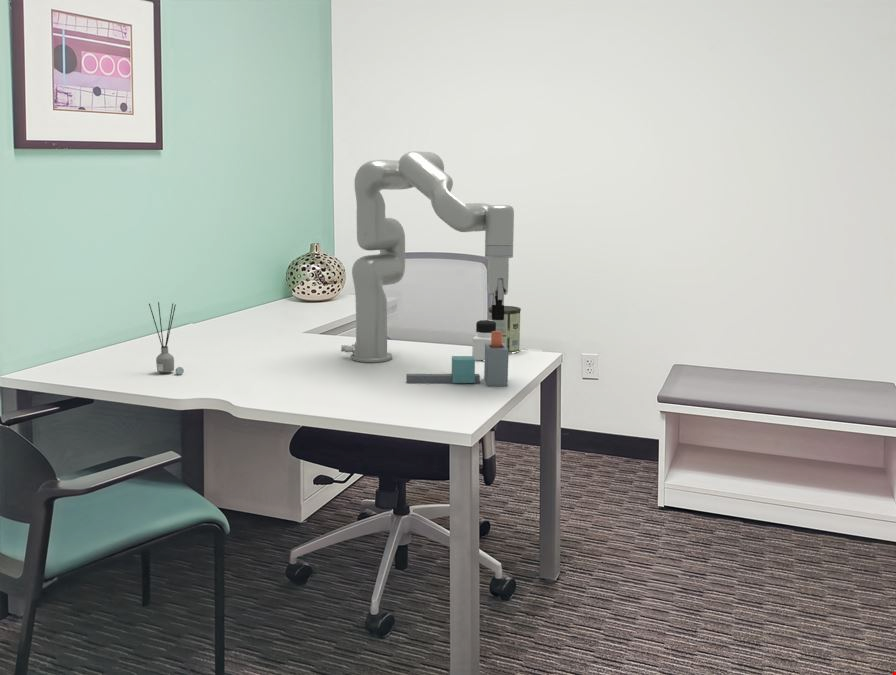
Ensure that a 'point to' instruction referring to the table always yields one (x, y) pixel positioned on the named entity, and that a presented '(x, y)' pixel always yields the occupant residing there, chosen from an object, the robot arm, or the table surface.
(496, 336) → the plunger
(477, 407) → the table surface
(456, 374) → the block
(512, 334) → the coffee can
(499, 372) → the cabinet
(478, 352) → the medicine bottle
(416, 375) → the rail
